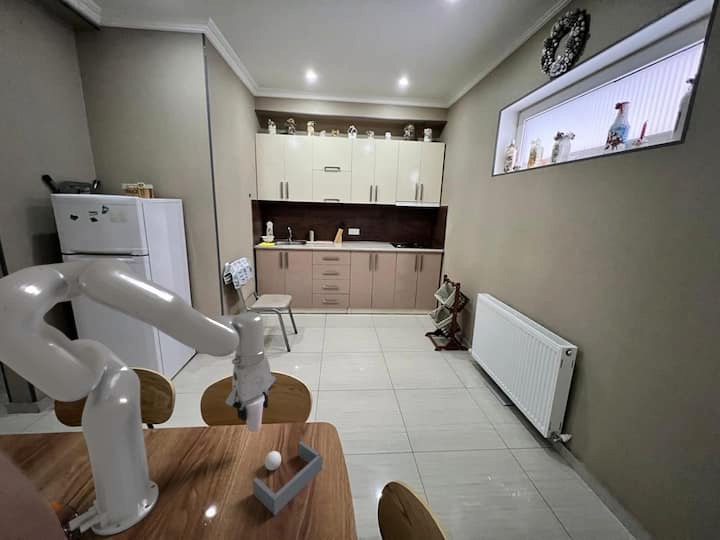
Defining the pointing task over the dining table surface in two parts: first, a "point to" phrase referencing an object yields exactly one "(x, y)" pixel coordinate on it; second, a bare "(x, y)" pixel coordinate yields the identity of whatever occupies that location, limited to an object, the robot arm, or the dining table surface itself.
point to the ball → (273, 460)
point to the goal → (294, 485)
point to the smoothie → (254, 412)
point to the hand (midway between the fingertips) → (253, 412)
